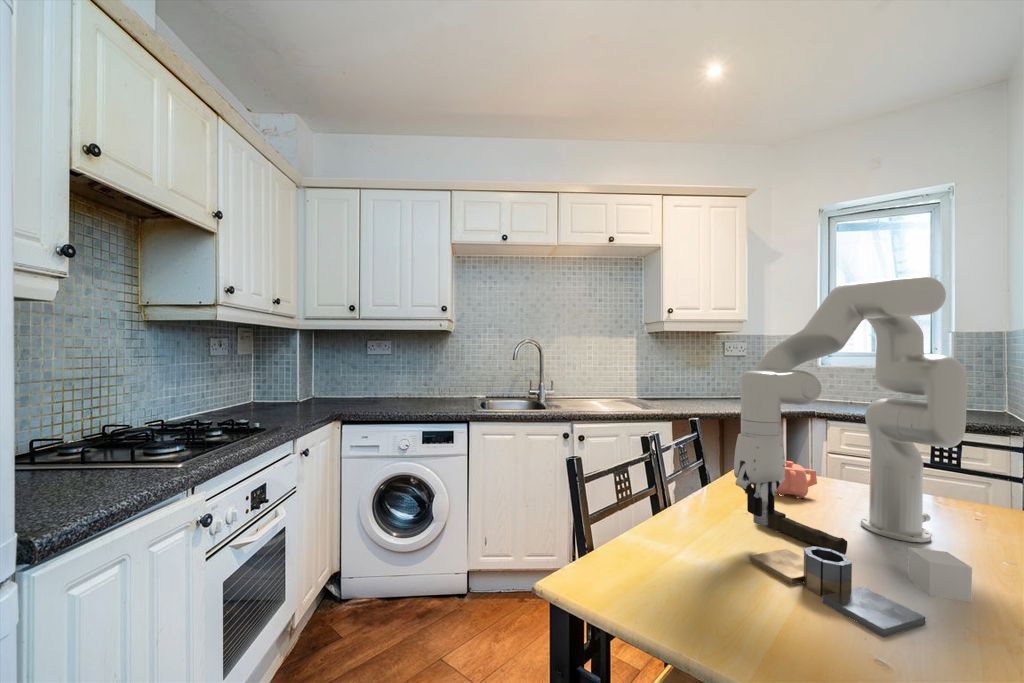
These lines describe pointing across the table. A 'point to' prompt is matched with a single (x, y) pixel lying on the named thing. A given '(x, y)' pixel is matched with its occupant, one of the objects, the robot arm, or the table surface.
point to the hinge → (839, 588)
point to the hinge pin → (763, 505)
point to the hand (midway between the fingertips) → (760, 512)
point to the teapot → (796, 480)
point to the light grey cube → (940, 574)
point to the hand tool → (805, 533)
